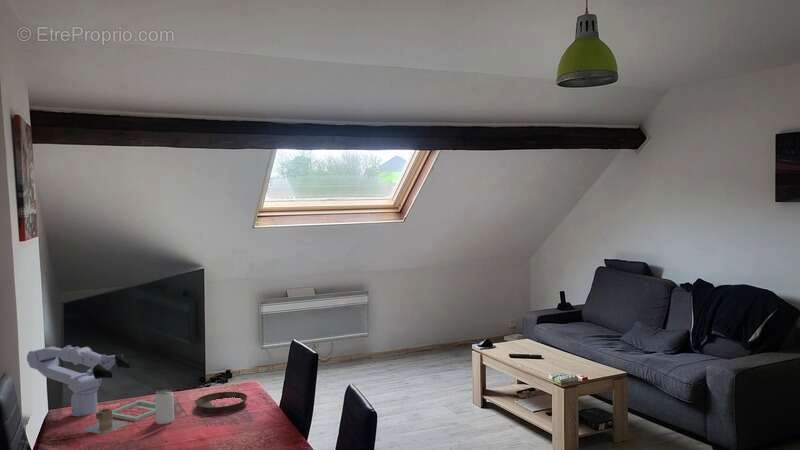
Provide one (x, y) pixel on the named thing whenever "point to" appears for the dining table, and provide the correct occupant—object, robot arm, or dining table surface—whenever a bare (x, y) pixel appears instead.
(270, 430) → the dining table surface
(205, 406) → the plant saucer
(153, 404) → the tray
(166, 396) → the can
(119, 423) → the square base plate
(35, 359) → the robot arm
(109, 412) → the sleeve
